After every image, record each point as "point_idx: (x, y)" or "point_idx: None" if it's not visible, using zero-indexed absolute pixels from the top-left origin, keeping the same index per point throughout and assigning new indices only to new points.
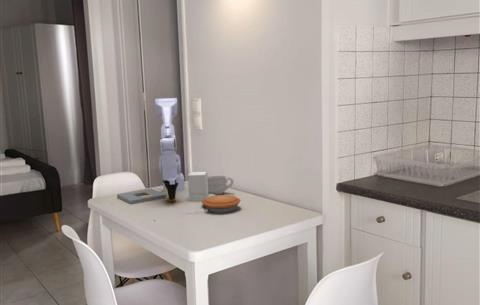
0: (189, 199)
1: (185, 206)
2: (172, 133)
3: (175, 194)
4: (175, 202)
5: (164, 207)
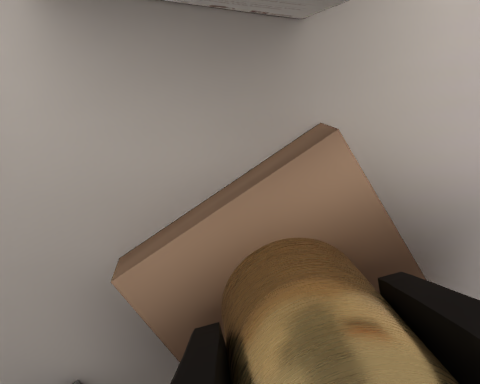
0: (326, 7)
1: (408, 78)
2: None
3: (366, 295)
4: (377, 237)
5: None
